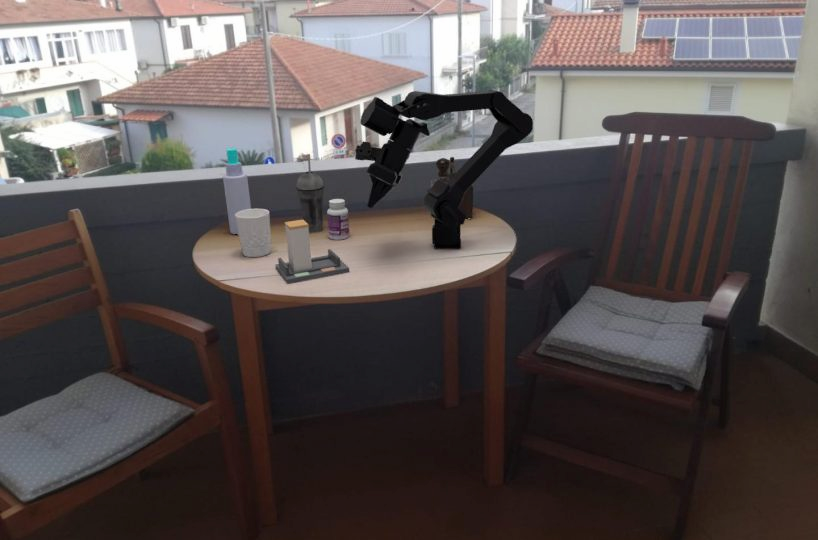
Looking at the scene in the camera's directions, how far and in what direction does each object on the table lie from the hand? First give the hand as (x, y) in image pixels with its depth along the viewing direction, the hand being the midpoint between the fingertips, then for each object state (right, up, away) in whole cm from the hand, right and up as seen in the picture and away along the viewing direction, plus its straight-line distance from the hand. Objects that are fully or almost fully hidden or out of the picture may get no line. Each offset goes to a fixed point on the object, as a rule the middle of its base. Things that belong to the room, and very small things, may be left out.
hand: (369, 207), depth 144 cm
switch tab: (-15, -14, -4) cm, 21 cm away
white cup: (-28, -10, +9) cm, 31 cm away
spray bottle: (-35, -4, +24) cm, 43 cm away
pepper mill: (+21, 0, +32) cm, 38 cm away
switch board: (-13, -14, -3) cm, 19 cm away
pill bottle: (-9, -6, +19) cm, 21 cm away
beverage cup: (-16, -4, +25) cm, 30 cm away
